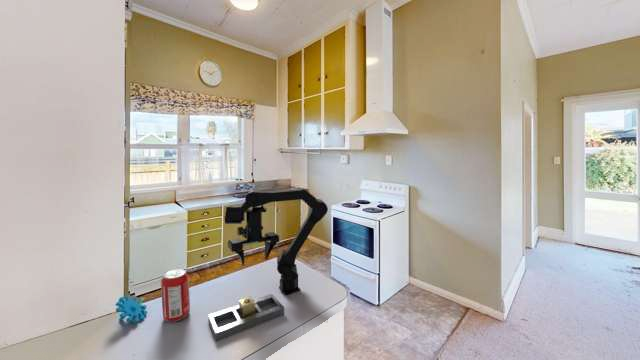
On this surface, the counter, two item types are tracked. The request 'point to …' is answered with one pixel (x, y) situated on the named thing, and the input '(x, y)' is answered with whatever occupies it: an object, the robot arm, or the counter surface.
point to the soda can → (175, 295)
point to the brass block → (246, 307)
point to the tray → (246, 322)
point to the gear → (131, 309)
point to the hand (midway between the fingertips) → (254, 262)
